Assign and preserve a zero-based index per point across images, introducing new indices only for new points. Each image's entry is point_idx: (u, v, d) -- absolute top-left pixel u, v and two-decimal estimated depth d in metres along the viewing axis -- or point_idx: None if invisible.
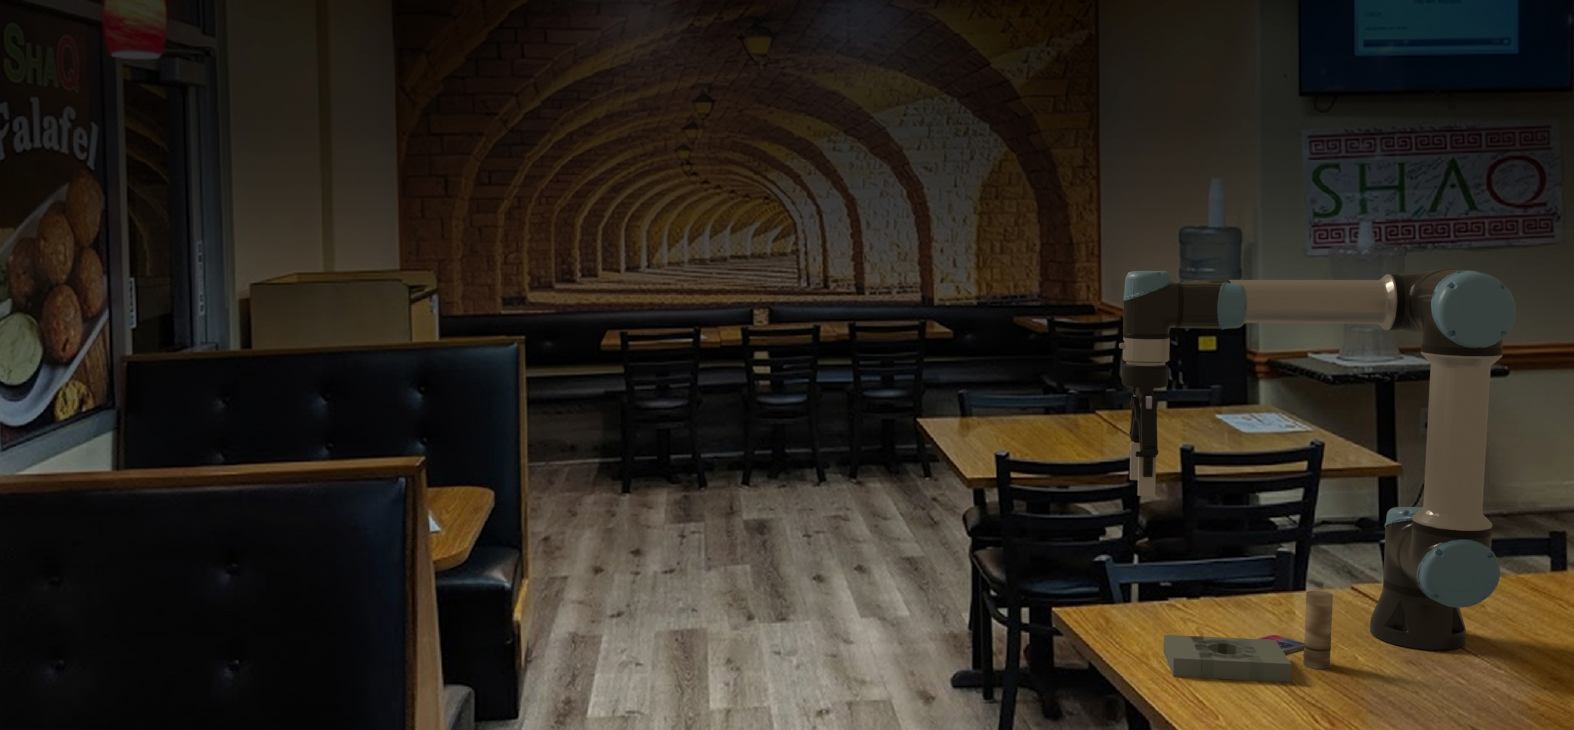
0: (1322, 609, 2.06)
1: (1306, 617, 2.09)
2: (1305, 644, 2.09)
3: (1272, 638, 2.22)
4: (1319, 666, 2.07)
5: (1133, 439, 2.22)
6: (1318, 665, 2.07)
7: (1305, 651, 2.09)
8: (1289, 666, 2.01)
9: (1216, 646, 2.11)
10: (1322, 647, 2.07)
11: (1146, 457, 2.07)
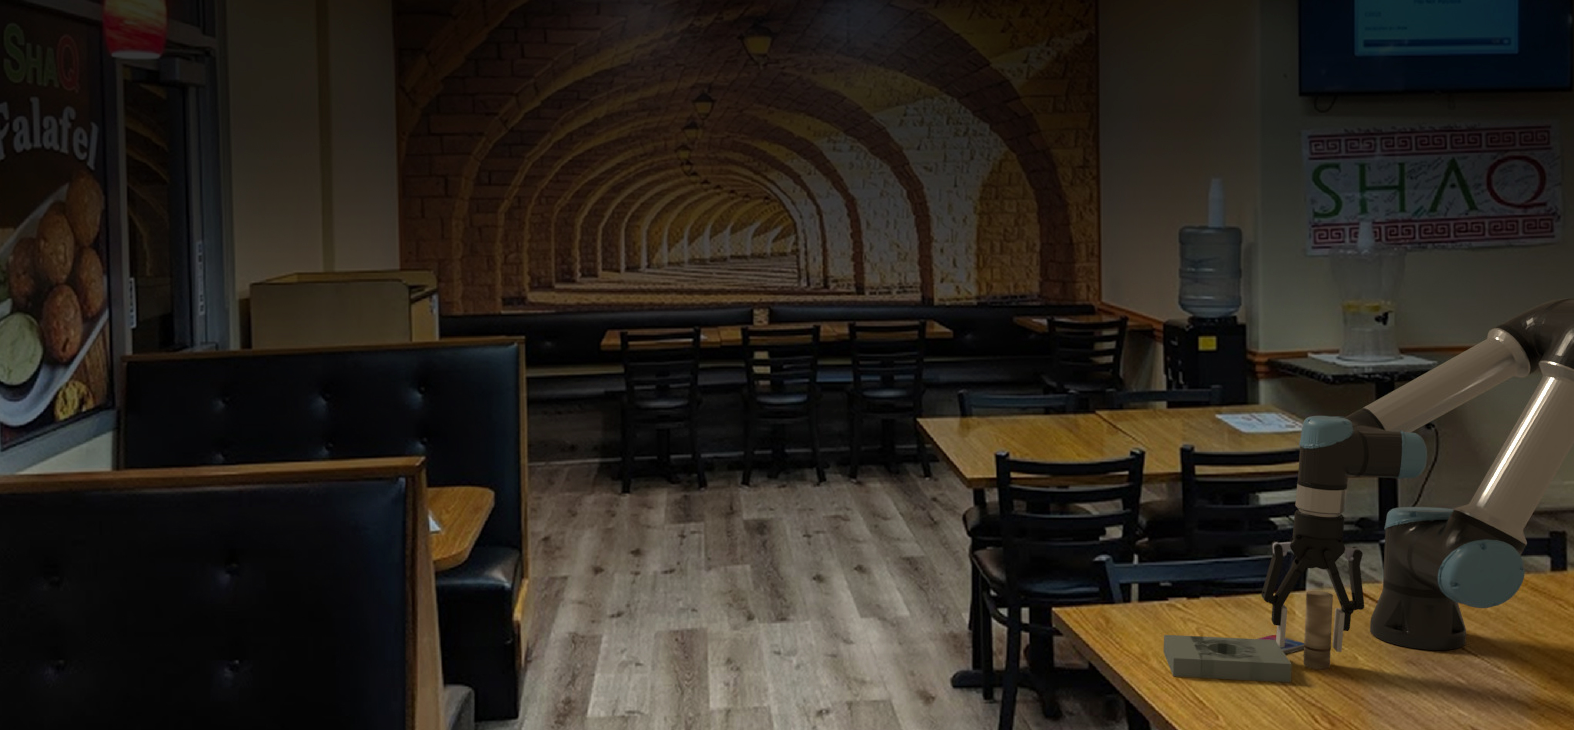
0: (1322, 609, 2.06)
1: (1306, 617, 2.09)
2: (1305, 644, 2.09)
3: (1272, 638, 2.22)
4: (1319, 666, 2.07)
5: (1340, 604, 2.09)
6: (1318, 665, 2.07)
7: (1305, 651, 2.09)
8: (1289, 666, 2.01)
9: (1216, 646, 2.11)
10: (1322, 647, 2.07)
11: (1271, 603, 2.10)
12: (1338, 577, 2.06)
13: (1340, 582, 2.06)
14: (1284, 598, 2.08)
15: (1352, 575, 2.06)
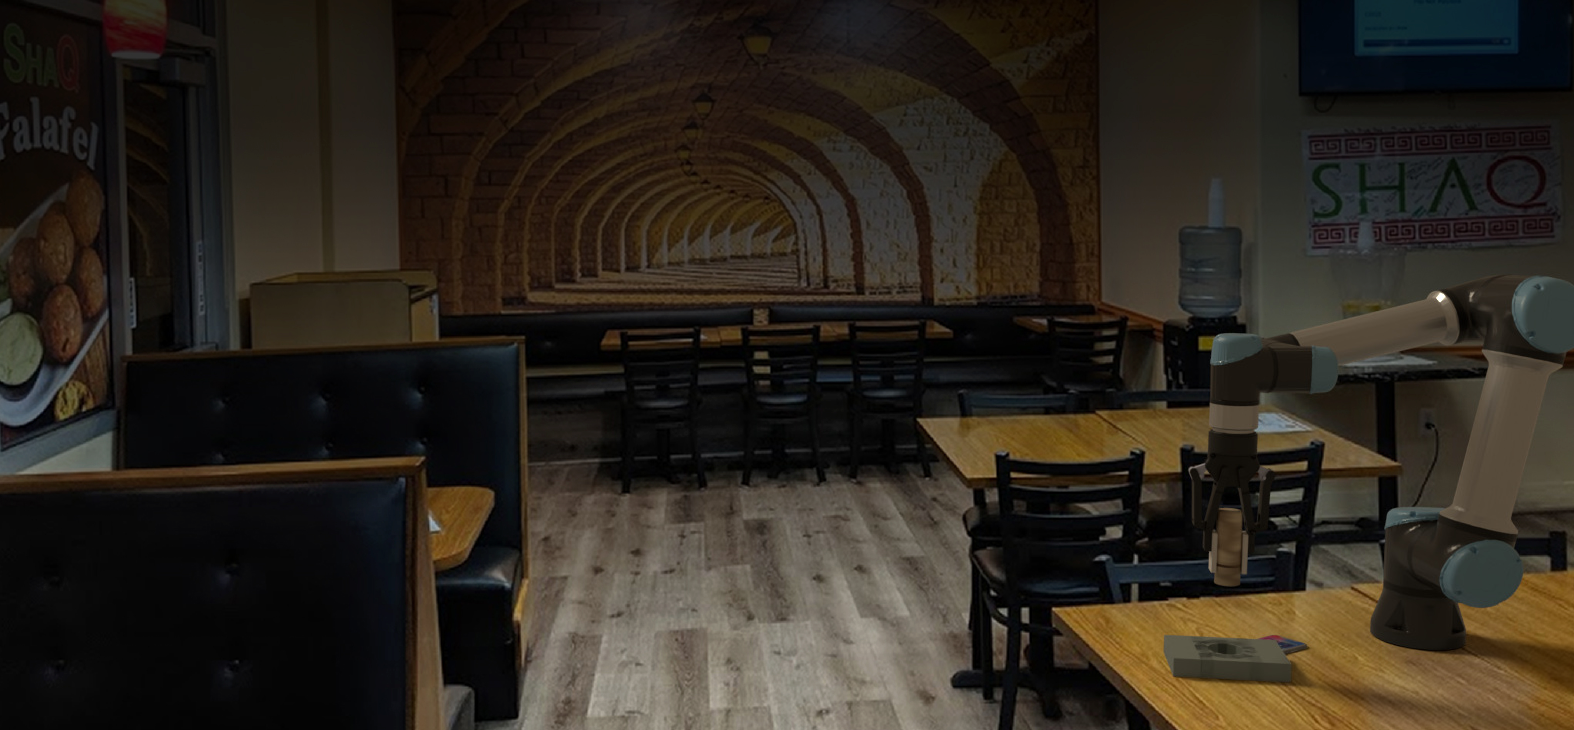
0: (1231, 525, 2.04)
1: None
2: None
3: (1272, 638, 2.22)
4: (1229, 583, 2.05)
5: (1245, 526, 2.07)
6: (1228, 582, 2.05)
7: None
8: (1289, 666, 2.01)
9: (1216, 646, 2.11)
10: (1231, 564, 2.05)
11: None
12: (1248, 497, 2.04)
13: (1249, 502, 2.04)
14: (1212, 522, 2.06)
15: (1261, 495, 2.04)
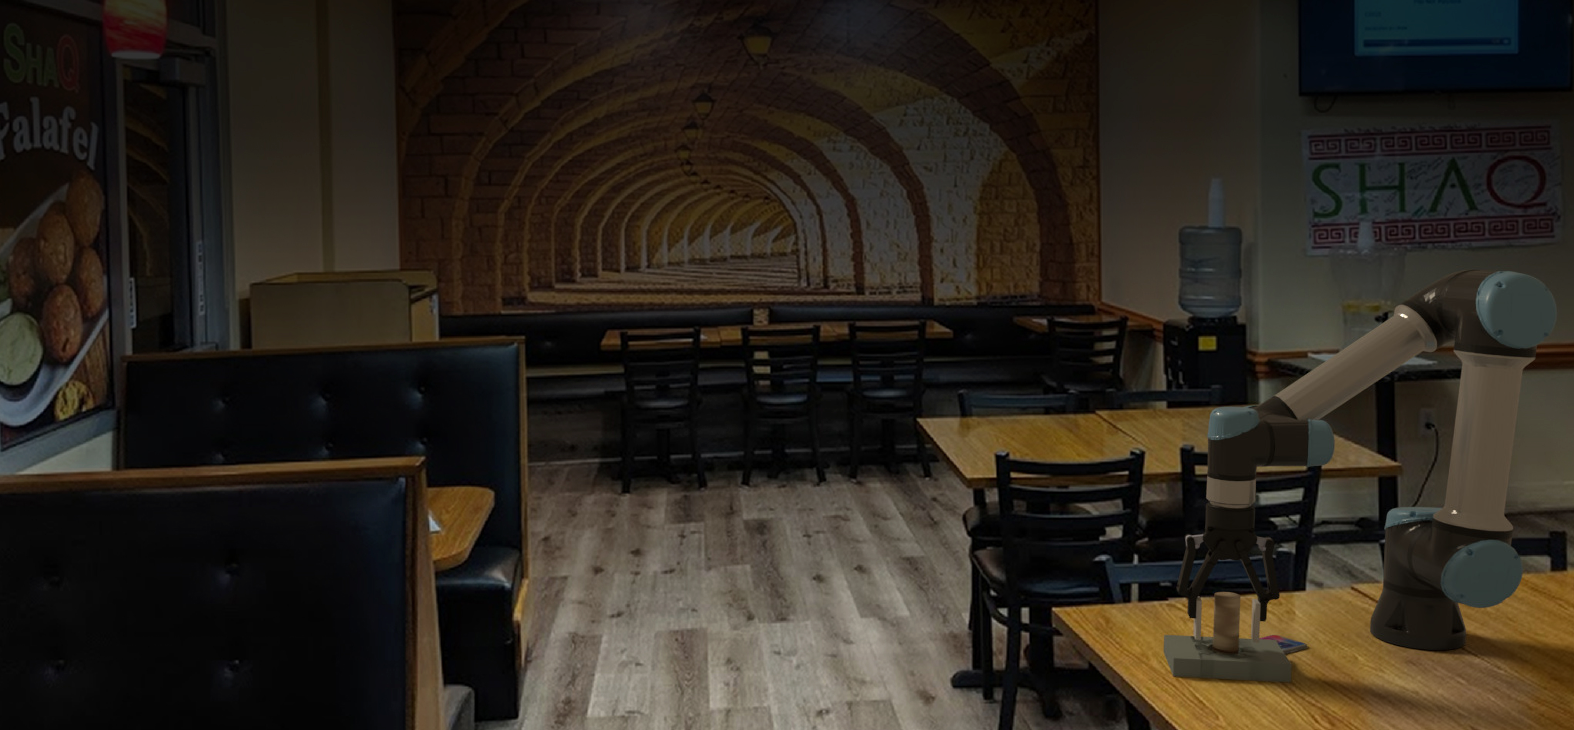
0: (1229, 610, 2.06)
1: (1214, 618, 2.08)
2: (1213, 645, 2.09)
3: (1272, 638, 2.22)
4: None
5: (1257, 595, 2.08)
6: None
7: None
8: (1289, 666, 2.01)
9: None
10: (1229, 648, 2.07)
11: None
12: (1252, 568, 2.05)
13: (1254, 573, 2.05)
14: (1198, 591, 2.07)
15: (1266, 565, 2.05)
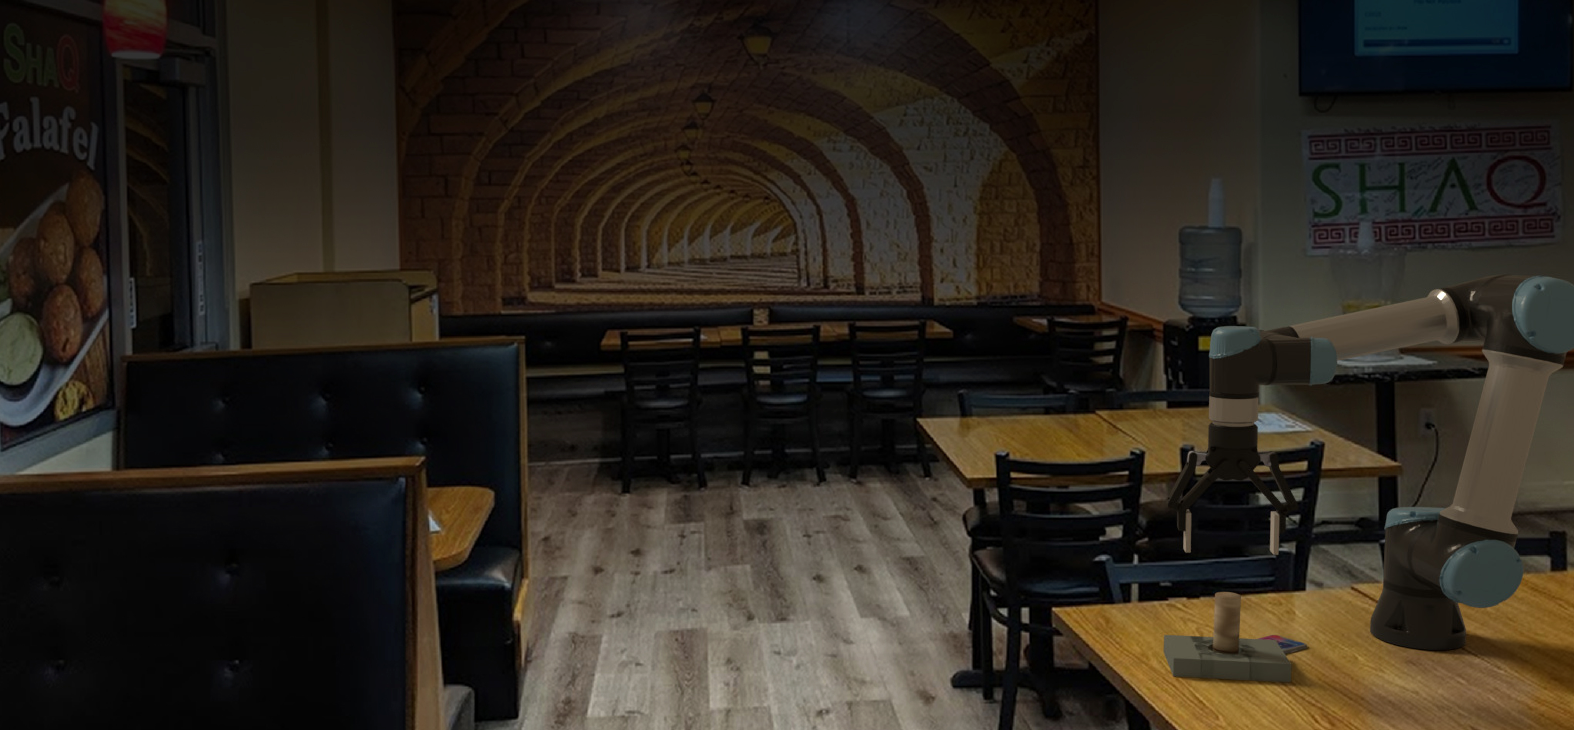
0: (1230, 610, 2.06)
1: (1214, 618, 2.08)
2: (1213, 645, 2.09)
3: (1272, 638, 2.22)
4: None
5: (1275, 508, 2.06)
6: None
7: None
8: (1289, 666, 2.01)
9: None
10: (1230, 648, 2.07)
11: None
12: (1262, 483, 2.04)
13: (1265, 487, 2.04)
14: (1189, 504, 2.06)
15: (1276, 479, 2.04)
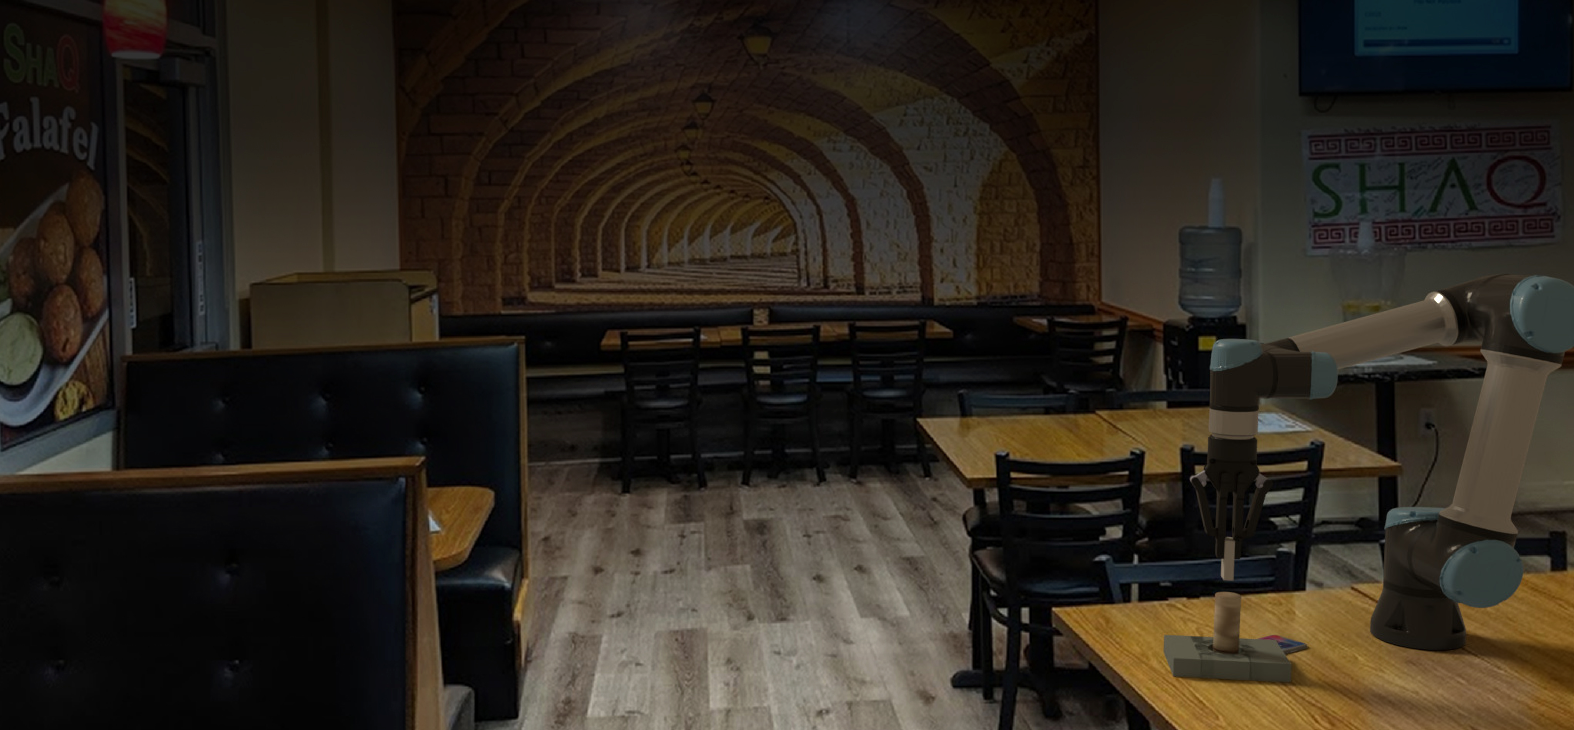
0: (1230, 610, 2.06)
1: (1215, 618, 2.08)
2: (1213, 645, 2.09)
3: (1272, 638, 2.22)
4: None
5: (1232, 531, 2.07)
6: None
7: None
8: (1289, 666, 2.01)
9: None
10: (1230, 648, 2.07)
11: None
12: (1241, 503, 2.05)
13: (1241, 509, 2.05)
14: (1223, 529, 2.05)
15: (1254, 502, 2.05)
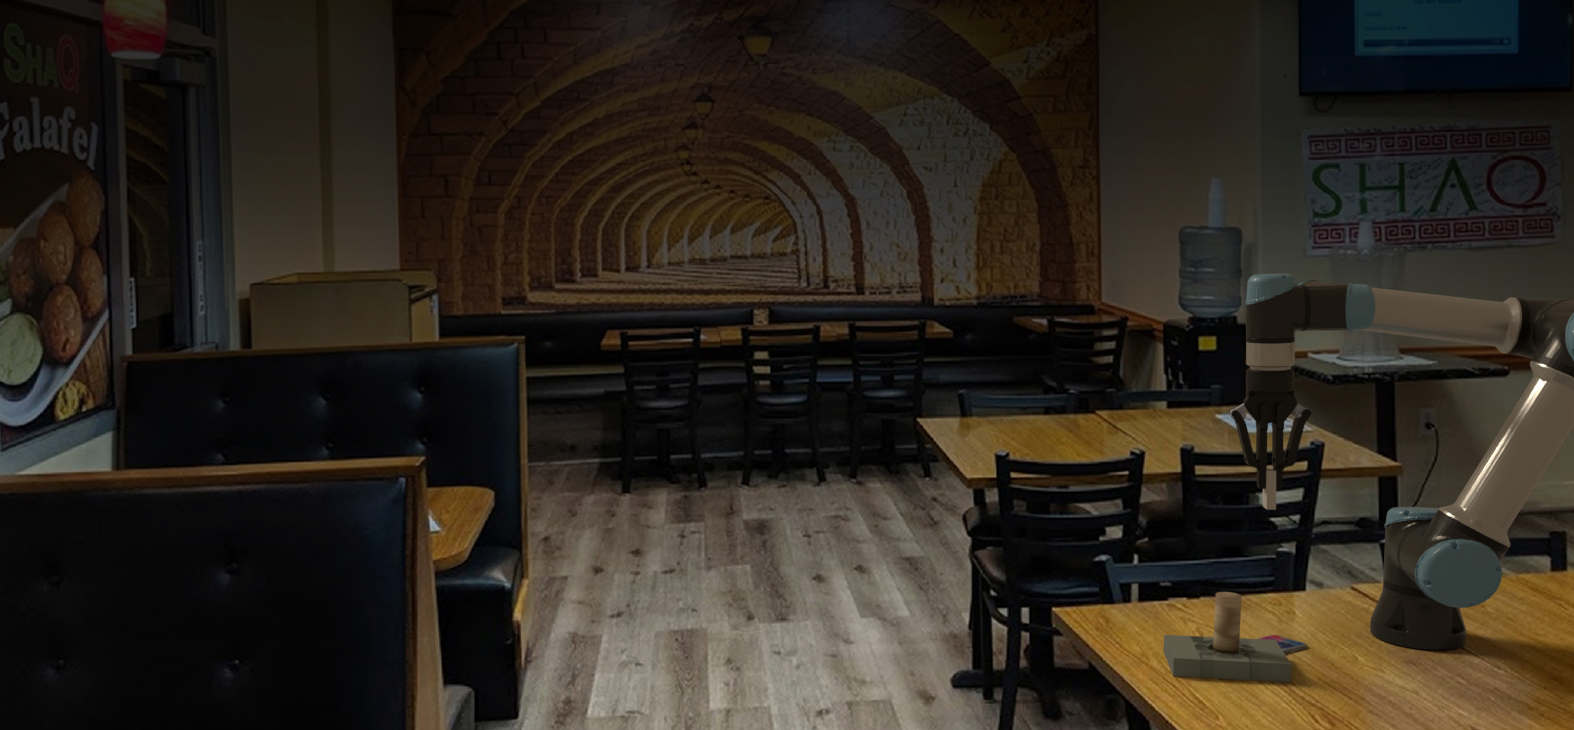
0: (1230, 610, 2.06)
1: (1215, 618, 2.08)
2: (1214, 645, 2.09)
3: (1272, 638, 2.22)
4: None
5: (1272, 462, 2.12)
6: None
7: None
8: (1289, 666, 2.01)
9: None
10: (1230, 648, 2.07)
11: (1256, 468, 2.12)
12: (1281, 433, 2.10)
13: (1281, 439, 2.10)
14: (1265, 459, 2.11)
15: (1294, 432, 2.10)
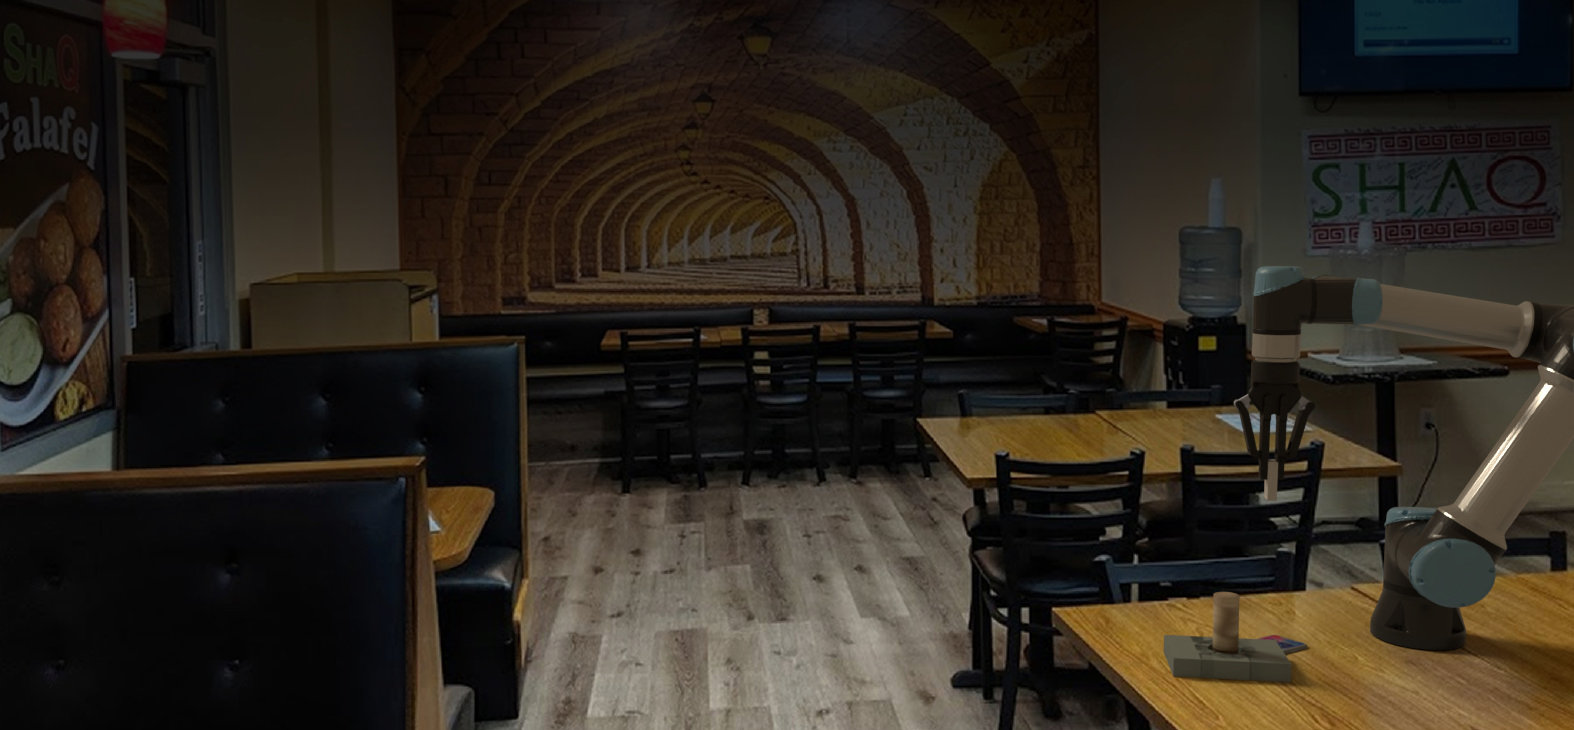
0: (1228, 610, 2.06)
1: (1213, 618, 2.08)
2: (1213, 645, 2.09)
3: (1272, 638, 2.22)
4: None
5: (1275, 453, 2.14)
6: None
7: None
8: (1289, 666, 2.01)
9: None
10: (1229, 648, 2.07)
11: None
12: (1284, 425, 2.11)
13: (1284, 430, 2.11)
14: (1267, 450, 2.12)
15: (1297, 424, 2.11)
